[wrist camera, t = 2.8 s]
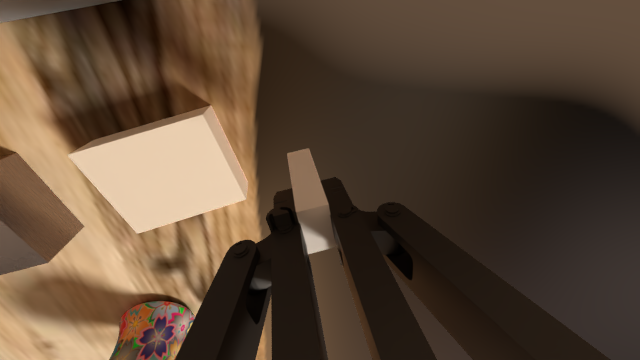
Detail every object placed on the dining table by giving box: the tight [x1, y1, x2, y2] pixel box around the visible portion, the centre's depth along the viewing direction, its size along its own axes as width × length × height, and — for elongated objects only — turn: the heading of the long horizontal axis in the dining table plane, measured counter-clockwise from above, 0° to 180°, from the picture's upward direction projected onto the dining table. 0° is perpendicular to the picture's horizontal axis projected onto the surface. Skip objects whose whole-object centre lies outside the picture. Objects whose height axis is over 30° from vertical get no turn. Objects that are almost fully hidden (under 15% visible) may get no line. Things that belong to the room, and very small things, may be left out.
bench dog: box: [0, 153, 84, 275], centre depth 19 cm, size 4×8×4 cm, turn 10°
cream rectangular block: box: [67, 105, 248, 234], centre depth 21 cm, size 10×8×4 cm
